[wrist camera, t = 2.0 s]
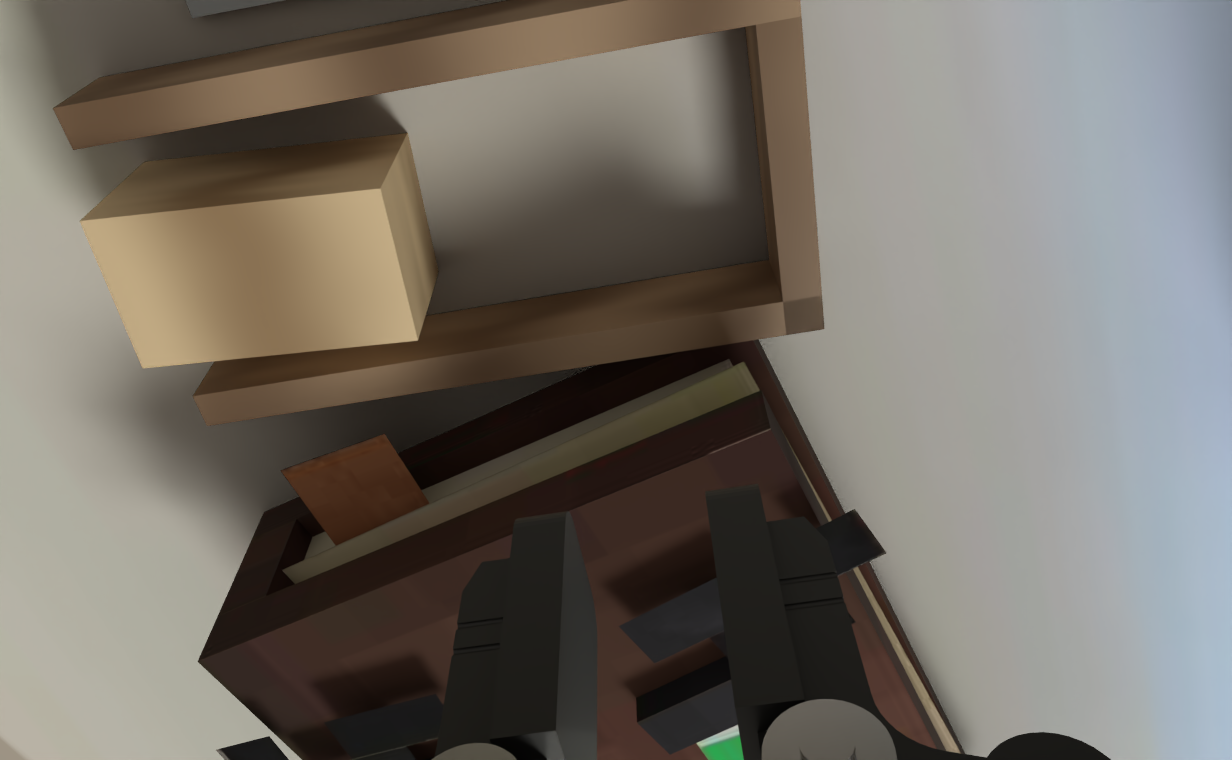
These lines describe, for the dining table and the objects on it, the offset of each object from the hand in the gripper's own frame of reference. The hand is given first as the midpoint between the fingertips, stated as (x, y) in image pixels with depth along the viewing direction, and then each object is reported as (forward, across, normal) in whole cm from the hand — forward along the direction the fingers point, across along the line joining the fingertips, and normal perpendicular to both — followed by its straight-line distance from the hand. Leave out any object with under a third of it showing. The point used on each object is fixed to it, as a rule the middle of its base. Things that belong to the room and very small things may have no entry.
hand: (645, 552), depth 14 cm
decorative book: (+16, +2, +19) cm, 25 cm away
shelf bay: (+15, +4, 0) cm, 16 cm away
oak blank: (+15, +9, 0) cm, 18 cm away
